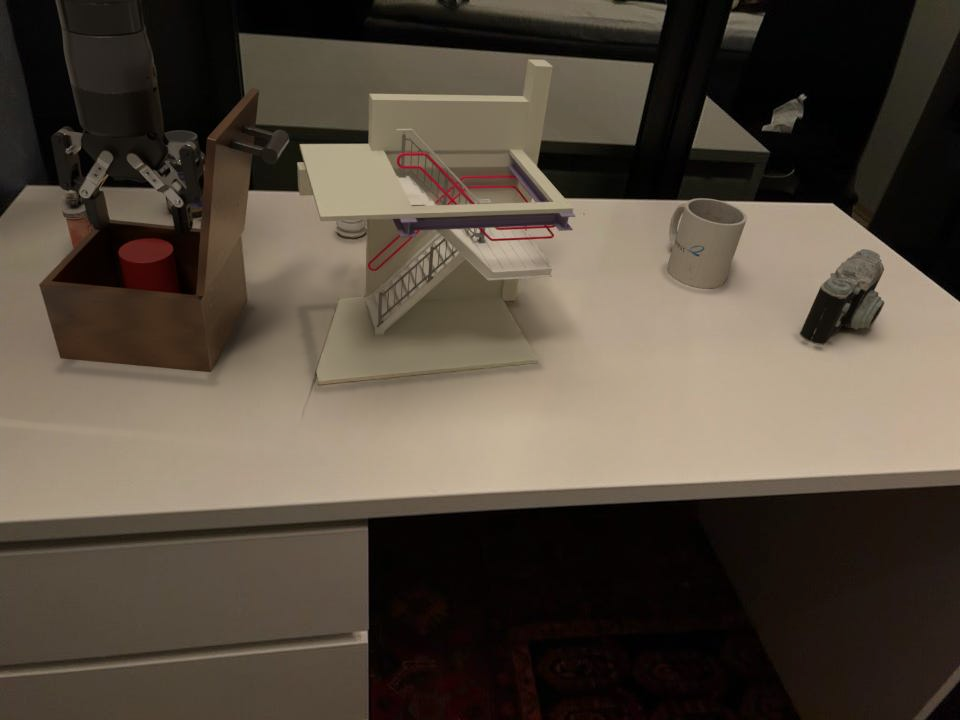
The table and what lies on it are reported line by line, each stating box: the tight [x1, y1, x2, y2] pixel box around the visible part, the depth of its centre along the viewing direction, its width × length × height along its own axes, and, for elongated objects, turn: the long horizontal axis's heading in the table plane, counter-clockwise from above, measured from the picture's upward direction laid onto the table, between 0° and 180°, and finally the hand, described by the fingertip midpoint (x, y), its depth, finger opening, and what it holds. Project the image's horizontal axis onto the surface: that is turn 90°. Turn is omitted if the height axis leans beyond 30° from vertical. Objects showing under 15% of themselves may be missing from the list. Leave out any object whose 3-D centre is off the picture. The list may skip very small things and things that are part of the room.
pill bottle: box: [161, 129, 206, 218], centre depth 105 cm, size 6×6×11 cm
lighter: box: [60, 190, 94, 250], centre depth 93 cm, size 8×3×10 cm, turn 16°
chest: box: [38, 219, 248, 373], centre depth 81 cm, size 16×15×10 cm
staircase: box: [296, 59, 576, 386], centre depth 80 cm, size 28×18×30 cm, turn 107°
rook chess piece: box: [335, 220, 367, 239], centre depth 106 cm, size 4×4×8 cm
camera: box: [799, 248, 885, 346], centre depth 98 cm, size 15×7×10 cm, turn 137°
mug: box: [666, 197, 748, 289], centre depth 108 cm, size 12×9×10 cm
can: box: [118, 238, 180, 294], centre depth 84 cm, size 6×6×8 cm
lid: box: [196, 87, 290, 296], centre depth 74 cm, size 16×15×5 cm
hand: (143, 231), depth 80 cm, fingers open, 8 cm apart
